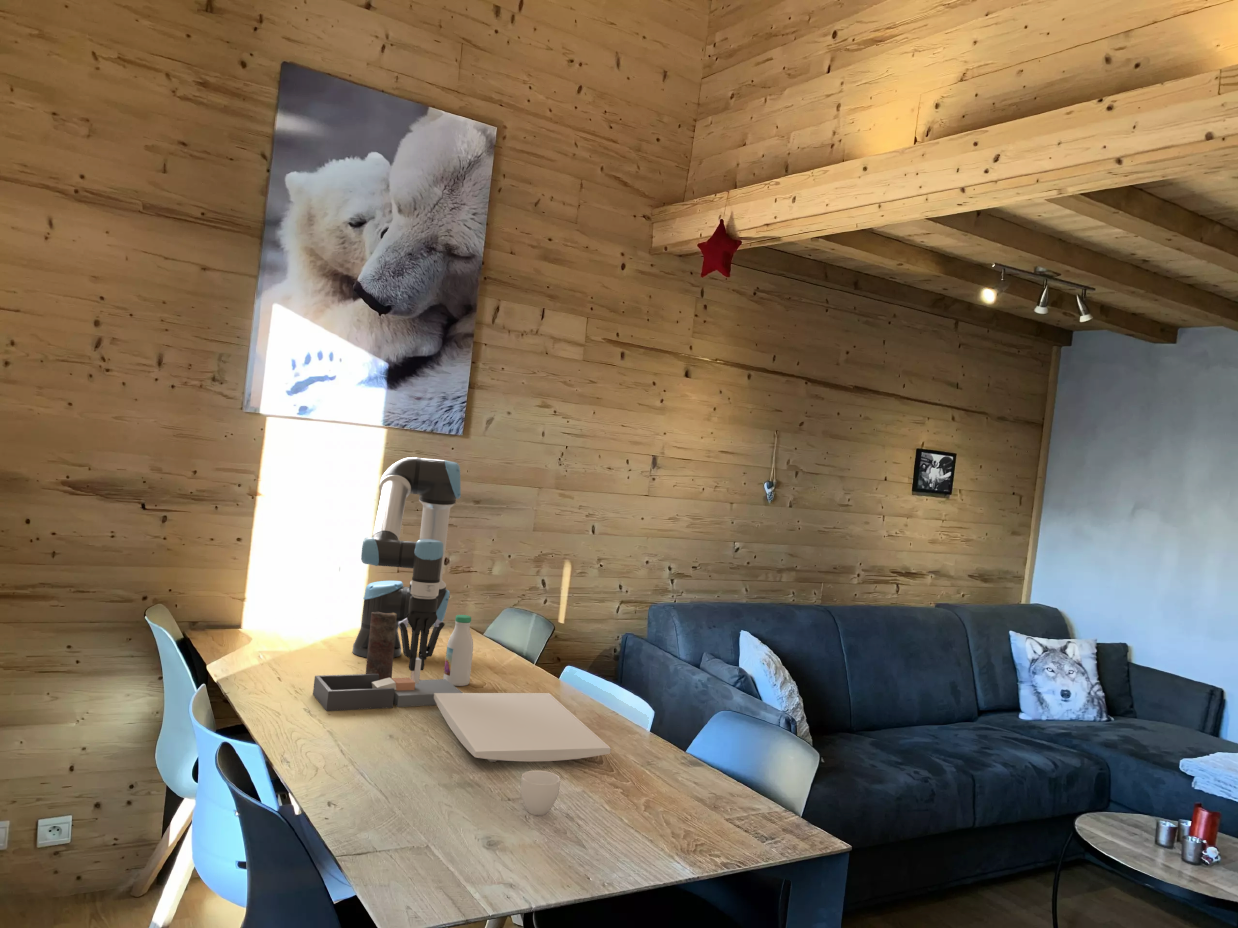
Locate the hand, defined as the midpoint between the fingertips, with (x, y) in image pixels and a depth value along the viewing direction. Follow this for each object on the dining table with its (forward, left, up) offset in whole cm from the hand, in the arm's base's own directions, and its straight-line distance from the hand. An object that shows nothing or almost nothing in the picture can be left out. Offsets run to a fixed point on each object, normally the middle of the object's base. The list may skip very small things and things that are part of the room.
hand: (414, 682), depth 246 cm
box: (0, -17, -4) cm, 17 cm away
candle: (-18, -5, -5) cm, 19 cm away
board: (+35, +14, -5) cm, 38 cm away
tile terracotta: (0, -3, -1) cm, 4 cm away
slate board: (0, +2, -4) cm, 5 cm away
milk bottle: (-13, +17, -5) cm, 22 cm away
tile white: (0, -8, -2) cm, 8 cm away
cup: (+77, -1, -5) cm, 77 cm away
